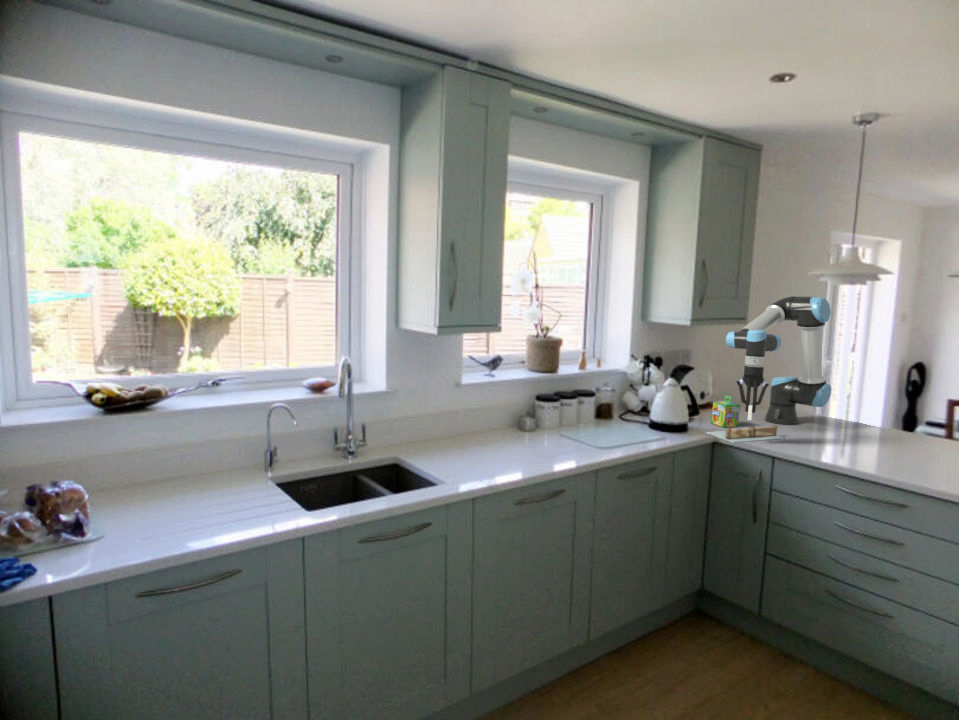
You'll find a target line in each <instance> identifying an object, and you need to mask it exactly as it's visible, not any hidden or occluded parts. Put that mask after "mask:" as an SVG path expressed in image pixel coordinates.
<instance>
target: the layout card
mask: <svg viewBox="0 0 959 720" xmlns="http://www.w3.org/2000/svg"><path fill="white" fill-rule="evenodd" d="M705 433H706V434H708V435H710V434H711V435H710V436H713V435H714V437H716V438H719V439H723V440H725V441H726V442H727V441H728V442H730V443H733V444H735V443H736V444H737V443H747V442H750V443H751V442H761V441H773V440H784V439H785V437H783V436H779V435H777V434H776V436H773V435H771V436H757V437H755V436H754V438H751V437H744V438H730V439H727V438H726V430H718V431H717V430H716V431H706V432H705Z"/></svg>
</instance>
